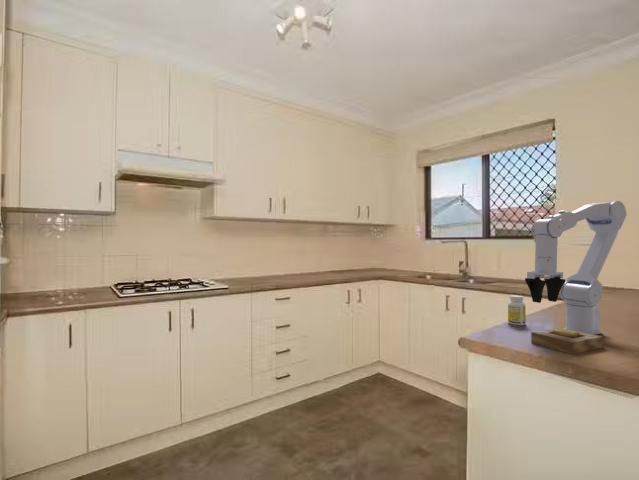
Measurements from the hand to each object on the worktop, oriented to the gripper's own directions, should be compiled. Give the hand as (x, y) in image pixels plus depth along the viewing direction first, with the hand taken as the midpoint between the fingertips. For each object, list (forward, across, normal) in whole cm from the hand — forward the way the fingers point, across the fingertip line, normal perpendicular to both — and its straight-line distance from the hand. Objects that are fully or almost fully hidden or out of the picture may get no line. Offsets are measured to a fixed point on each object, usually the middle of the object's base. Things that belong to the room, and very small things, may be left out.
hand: (544, 301), depth 110 cm
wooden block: (+11, +4, +9) cm, 14 cm away
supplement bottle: (+10, -7, -14) cm, 19 cm away
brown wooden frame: (+10, +4, +9) cm, 15 cm away
